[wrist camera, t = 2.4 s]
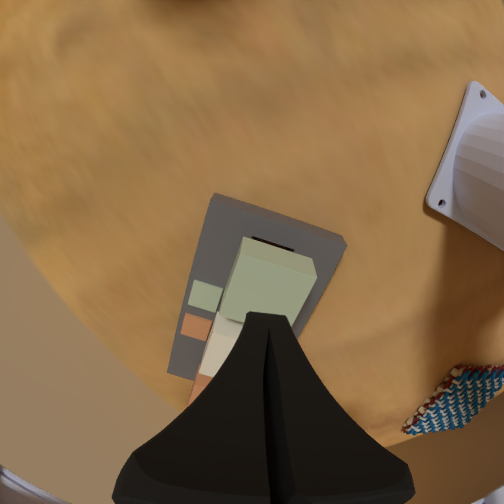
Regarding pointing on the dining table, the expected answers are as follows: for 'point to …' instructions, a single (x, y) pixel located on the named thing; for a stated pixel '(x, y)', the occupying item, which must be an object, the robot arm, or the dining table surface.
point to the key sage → (267, 282)
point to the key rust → (198, 385)
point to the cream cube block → (219, 344)
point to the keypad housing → (221, 262)
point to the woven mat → (457, 399)
